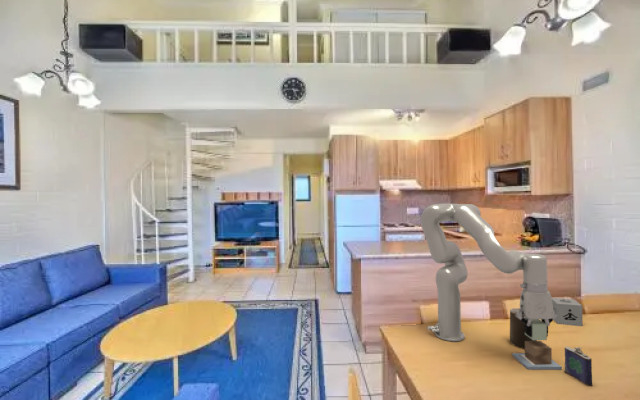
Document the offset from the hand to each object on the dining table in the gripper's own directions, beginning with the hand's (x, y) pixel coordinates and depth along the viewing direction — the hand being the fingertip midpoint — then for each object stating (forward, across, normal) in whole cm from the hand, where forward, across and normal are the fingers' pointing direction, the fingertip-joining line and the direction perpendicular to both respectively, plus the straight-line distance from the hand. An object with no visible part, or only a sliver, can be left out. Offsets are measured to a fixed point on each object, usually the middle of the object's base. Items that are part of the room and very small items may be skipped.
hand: (536, 334), depth 120 cm
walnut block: (+10, 0, 0) cm, 10 cm away
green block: (+1, 0, 0) cm, 1 cm away
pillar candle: (+11, +4, +15) cm, 19 cm away
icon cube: (+11, +38, +40) cm, 56 cm away
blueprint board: (+11, 0, 0) cm, 11 cm away
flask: (+11, +8, -10) cm, 17 cm away
